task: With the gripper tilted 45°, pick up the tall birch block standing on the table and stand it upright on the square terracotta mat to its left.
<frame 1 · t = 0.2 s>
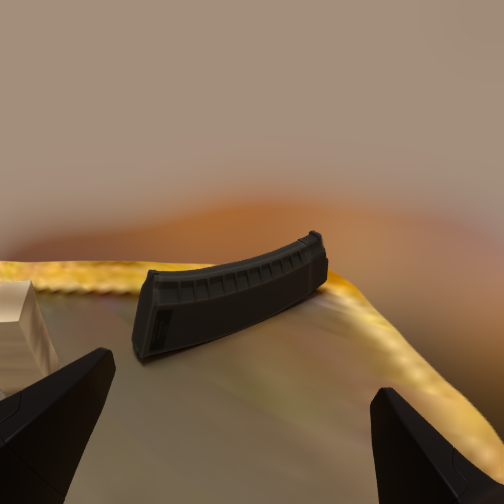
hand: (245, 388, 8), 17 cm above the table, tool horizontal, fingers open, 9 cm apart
black flat curved piece: (244, 321, 38), on the table
birch block: (51, 408, 19), on the table
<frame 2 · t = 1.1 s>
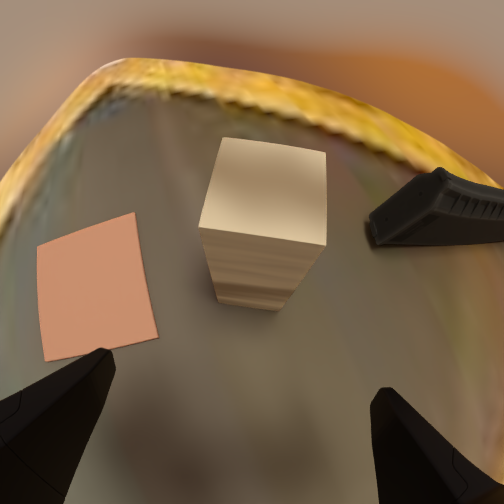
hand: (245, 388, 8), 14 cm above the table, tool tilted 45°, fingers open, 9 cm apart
terracotta mat: (86, 287, 22), on the table
black flat curved piece: (464, 234, 27), on the table
birch block: (252, 278, 24), on the table
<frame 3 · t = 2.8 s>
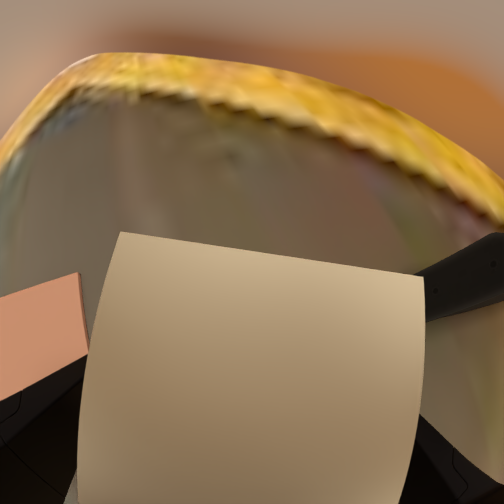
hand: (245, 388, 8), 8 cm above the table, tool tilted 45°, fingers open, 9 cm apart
terracotta mat: (29, 370, 14), on the table
birch block: (241, 381, 15), on the table
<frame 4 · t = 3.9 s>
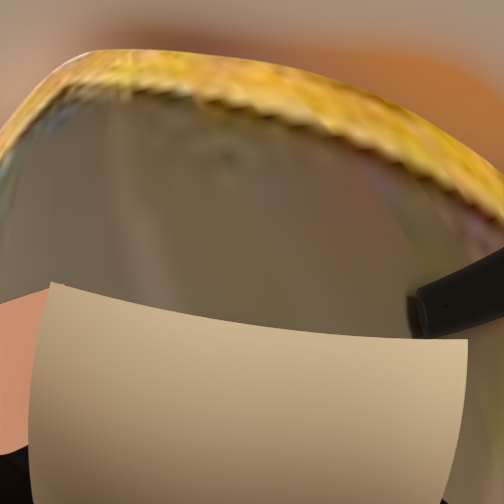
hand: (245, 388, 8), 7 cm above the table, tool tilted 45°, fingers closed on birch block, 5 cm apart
terracotta mat: (19, 384, 12), on the table
birch block: (237, 402, 14), on the table, touching gripper
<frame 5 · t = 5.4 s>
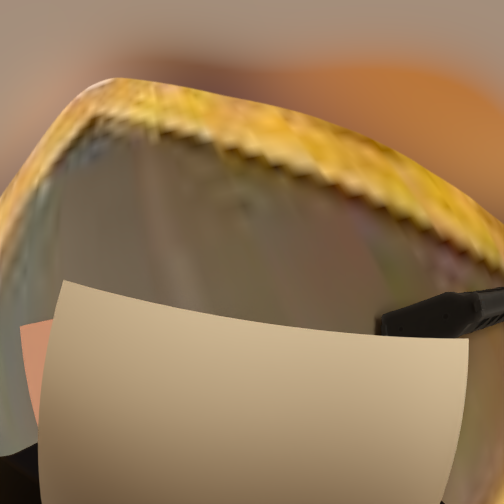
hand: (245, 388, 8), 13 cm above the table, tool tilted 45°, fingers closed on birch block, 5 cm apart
terracotta mat: (75, 382, 19), on the table
black flat curved piece: (480, 314, 23), on the table
birch block: (239, 402, 14), point 7 cm above the table, touching gripper
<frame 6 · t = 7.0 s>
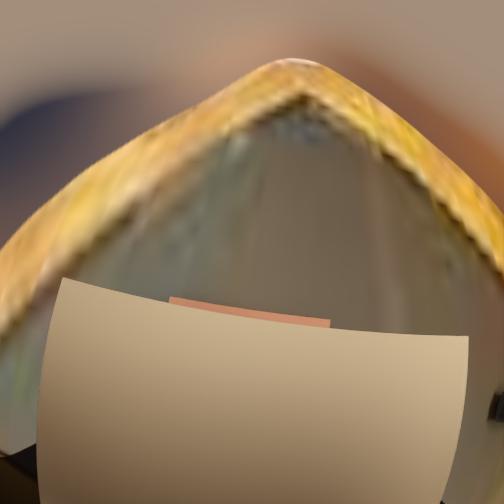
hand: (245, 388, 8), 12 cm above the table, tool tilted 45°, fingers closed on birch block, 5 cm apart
terracotta mat: (238, 390, 18), on the table
birch block: (239, 401, 14), point 5 cm above the table, touching gripper
when the fingers open (8 cm above the table, at t = 8.1 s): birch block stays where it is, resting on terracotta mat.
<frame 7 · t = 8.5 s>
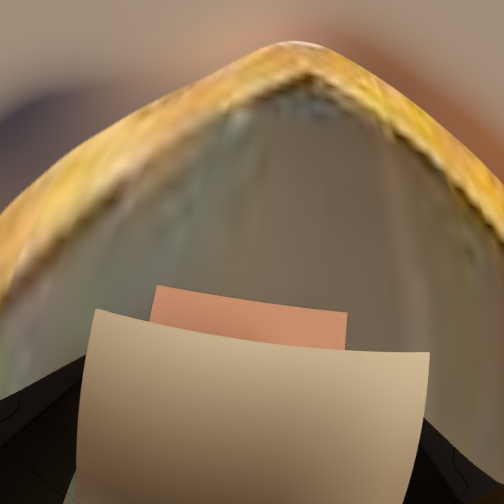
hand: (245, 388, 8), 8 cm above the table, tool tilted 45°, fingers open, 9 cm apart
terracotta mat: (238, 398, 15), on the table
birch block: (238, 400, 15), resting on terracotta mat
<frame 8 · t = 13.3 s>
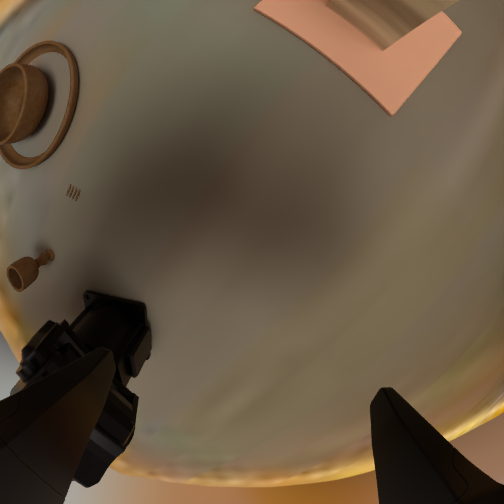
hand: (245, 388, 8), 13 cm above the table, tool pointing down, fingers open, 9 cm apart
place setting: (28, 144, 19), on the table
terracotta mat: (371, 12, 13), on the table
birch block: (373, 11, 13), resting on terracotta mat
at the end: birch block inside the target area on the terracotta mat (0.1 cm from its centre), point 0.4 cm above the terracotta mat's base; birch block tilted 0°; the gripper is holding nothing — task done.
